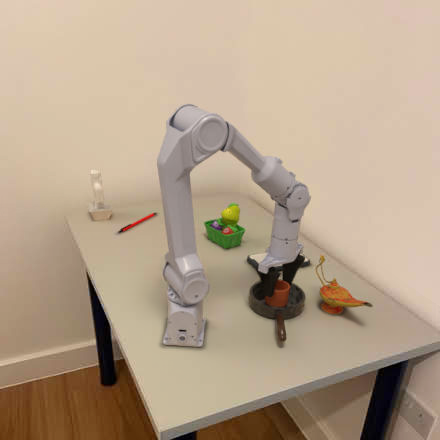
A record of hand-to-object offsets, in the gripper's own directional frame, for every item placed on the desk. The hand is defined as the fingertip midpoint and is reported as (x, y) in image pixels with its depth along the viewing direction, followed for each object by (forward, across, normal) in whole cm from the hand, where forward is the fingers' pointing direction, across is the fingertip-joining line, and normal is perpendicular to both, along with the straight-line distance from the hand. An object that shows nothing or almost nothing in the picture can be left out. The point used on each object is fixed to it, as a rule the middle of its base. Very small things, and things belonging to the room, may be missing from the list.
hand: (277, 289), depth 101 cm
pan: (+4, 0, 0) cm, 4 cm away
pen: (+5, -8, -59) cm, 60 cm away
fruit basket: (+4, -18, -31) cm, 36 cm away
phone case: (+4, -18, -12) cm, 22 cm away
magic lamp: (+4, -8, +12) cm, 15 cm away
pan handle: (+3, +9, +7) cm, 12 cm away
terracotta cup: (+4, 0, 0) cm, 4 cm away
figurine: (+5, -2, -71) cm, 71 cm away
